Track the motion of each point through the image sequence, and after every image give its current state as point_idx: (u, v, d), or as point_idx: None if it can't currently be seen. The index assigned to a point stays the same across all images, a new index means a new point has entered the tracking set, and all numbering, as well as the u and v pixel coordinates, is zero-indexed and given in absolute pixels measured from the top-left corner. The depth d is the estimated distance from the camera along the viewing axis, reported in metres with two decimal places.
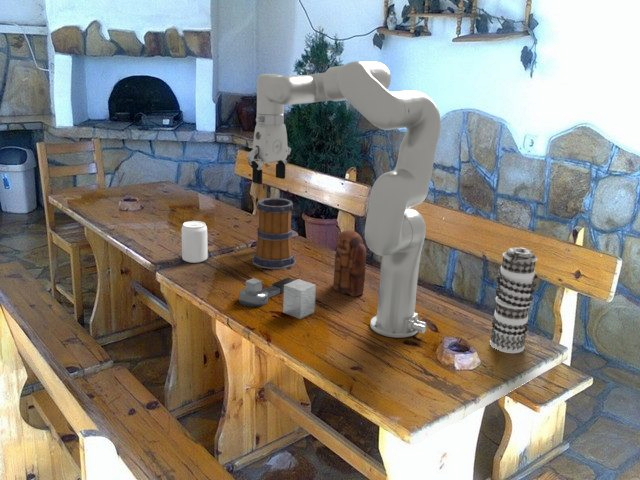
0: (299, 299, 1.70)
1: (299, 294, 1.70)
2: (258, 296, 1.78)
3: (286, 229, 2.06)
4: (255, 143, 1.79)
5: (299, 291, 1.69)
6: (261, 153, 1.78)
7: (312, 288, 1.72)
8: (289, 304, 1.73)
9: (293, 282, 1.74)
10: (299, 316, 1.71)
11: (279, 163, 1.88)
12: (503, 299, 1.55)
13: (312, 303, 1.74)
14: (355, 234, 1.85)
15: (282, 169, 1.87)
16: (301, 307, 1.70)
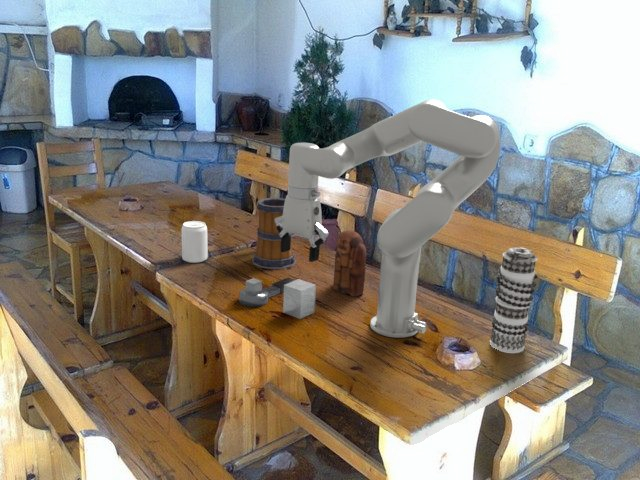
0: (299, 299, 1.70)
1: (299, 294, 1.70)
2: (258, 296, 1.78)
3: None
4: (314, 220, 1.63)
5: (299, 291, 1.69)
6: None
7: (312, 288, 1.72)
8: (289, 304, 1.73)
9: (293, 282, 1.74)
10: (299, 316, 1.71)
11: (286, 236, 1.72)
12: (503, 299, 1.55)
13: (312, 303, 1.74)
14: (355, 234, 1.85)
15: (289, 240, 1.73)
16: (301, 307, 1.70)
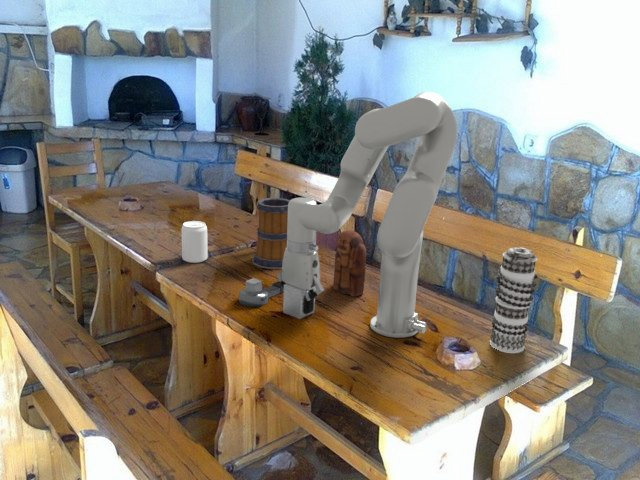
0: (299, 299, 1.70)
1: (299, 294, 1.70)
2: (258, 296, 1.78)
3: (286, 229, 2.06)
4: (313, 272, 1.68)
5: (299, 291, 1.69)
6: None
7: None
8: (289, 304, 1.73)
9: None
10: (299, 316, 1.71)
11: None
12: (503, 299, 1.55)
13: None
14: (355, 234, 1.85)
15: None
16: (301, 307, 1.70)
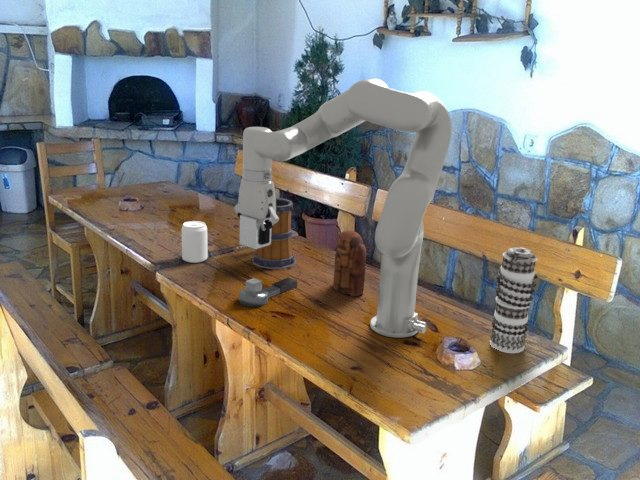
0: (254, 229, 1.70)
1: (254, 224, 1.70)
2: (258, 296, 1.78)
3: (286, 229, 2.06)
4: (268, 202, 1.68)
5: (254, 220, 1.70)
6: None
7: None
8: (245, 235, 1.73)
9: None
10: (254, 246, 1.72)
11: None
12: (503, 299, 1.55)
13: None
14: (355, 234, 1.85)
15: None
16: (256, 237, 1.71)
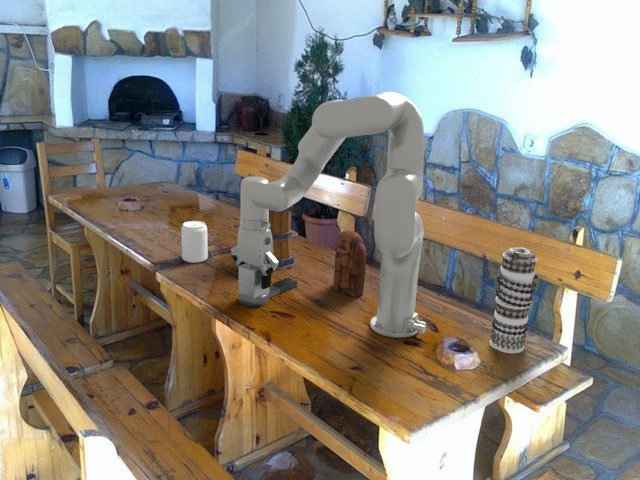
0: (253, 280, 1.75)
1: (252, 275, 1.75)
2: None
3: (286, 229, 2.06)
4: (265, 249, 1.73)
5: (252, 272, 1.74)
6: None
7: (266, 269, 1.78)
8: (244, 285, 1.78)
9: (248, 264, 1.79)
10: (253, 296, 1.76)
11: None
12: (503, 299, 1.55)
13: None
14: (355, 234, 1.85)
15: None
16: (254, 288, 1.76)
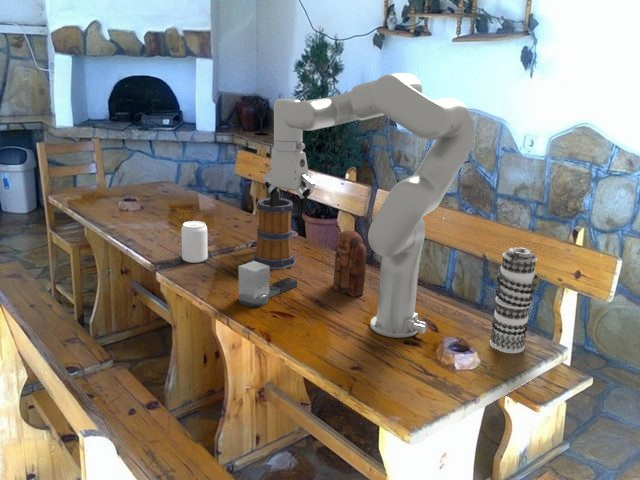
0: (253, 280, 1.75)
1: (252, 275, 1.75)
2: None
3: (286, 229, 2.06)
4: (300, 171, 1.71)
5: (252, 272, 1.74)
6: None
7: (266, 269, 1.78)
8: (244, 285, 1.78)
9: (248, 264, 1.79)
10: (253, 296, 1.76)
11: (274, 191, 1.79)
12: (503, 299, 1.55)
13: (266, 284, 1.79)
14: (355, 234, 1.85)
15: (278, 196, 1.80)
16: (254, 288, 1.76)
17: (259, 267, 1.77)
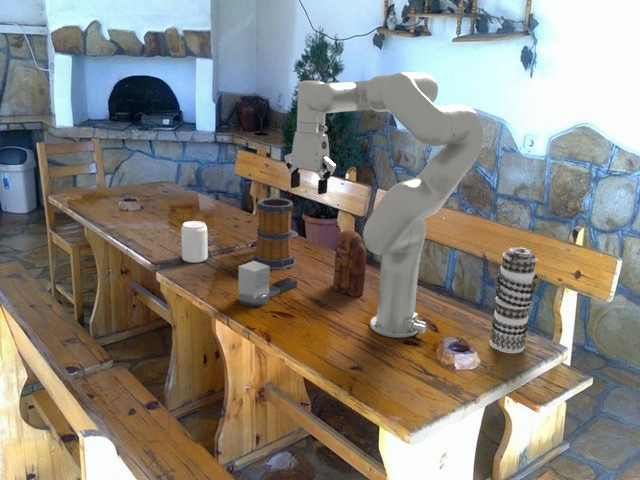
0: (253, 280, 1.75)
1: (252, 275, 1.75)
2: None
3: (286, 229, 2.06)
4: (322, 153, 1.73)
5: (252, 272, 1.74)
6: None
7: (266, 269, 1.78)
8: (244, 285, 1.78)
9: (248, 264, 1.79)
10: (253, 296, 1.76)
11: (295, 172, 1.81)
12: (503, 299, 1.55)
13: (266, 284, 1.79)
14: (355, 234, 1.85)
15: (299, 177, 1.82)
16: (254, 288, 1.76)
17: (259, 267, 1.77)
